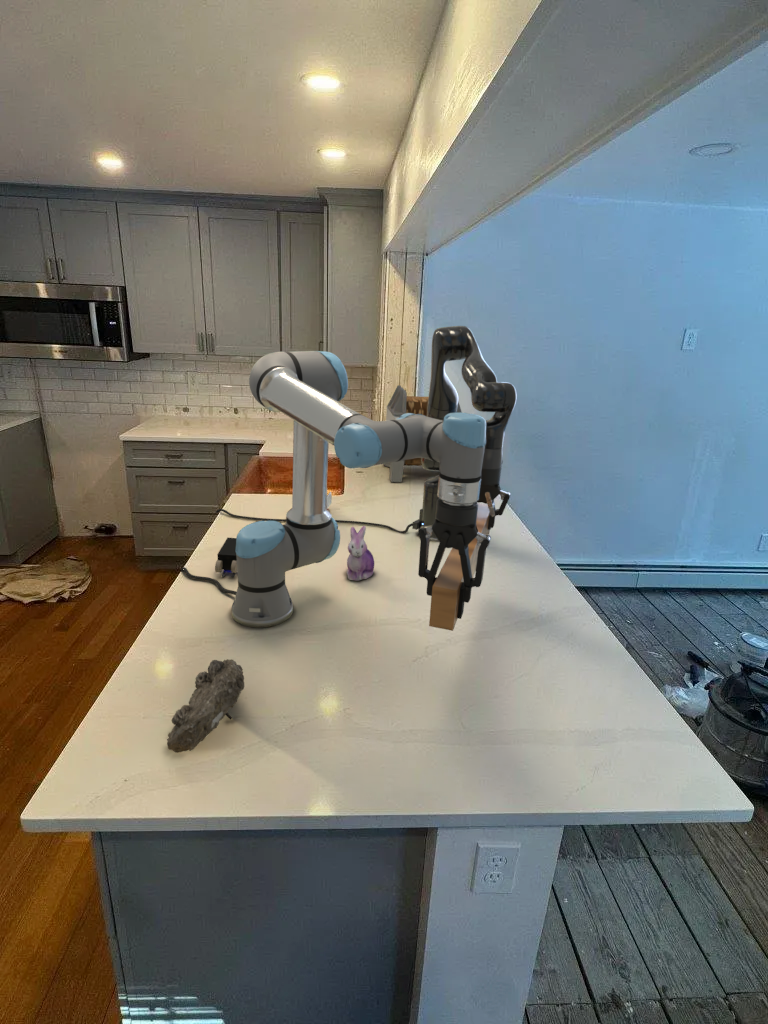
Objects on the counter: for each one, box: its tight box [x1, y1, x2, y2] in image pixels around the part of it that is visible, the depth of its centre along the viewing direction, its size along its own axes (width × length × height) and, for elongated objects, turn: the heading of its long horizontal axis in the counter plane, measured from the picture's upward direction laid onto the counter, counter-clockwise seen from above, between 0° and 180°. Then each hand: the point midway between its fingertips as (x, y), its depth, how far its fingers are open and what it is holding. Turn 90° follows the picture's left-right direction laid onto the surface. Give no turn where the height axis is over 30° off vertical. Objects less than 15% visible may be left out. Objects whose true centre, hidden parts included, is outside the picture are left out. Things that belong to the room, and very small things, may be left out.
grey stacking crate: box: [383, 384, 463, 483], centre depth 268 cm, size 34×33×41 cm
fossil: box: [166, 658, 245, 754], centre depth 106 cm, size 22×10×15 cm
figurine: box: [346, 525, 375, 582], centre depth 165 cm, size 9×10×15 cm
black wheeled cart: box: [214, 537, 237, 578], centre depth 166 cm, size 7×8×15 cm
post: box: [428, 502, 491, 632], centre depth 128 cm, size 52×5×8 cm, turn 163°
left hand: (446, 612), depth 111 cm, fingers closed on post, 5 cm apart
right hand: (479, 526), depth 147 cm, fingers closed on post, 4 cm apart
